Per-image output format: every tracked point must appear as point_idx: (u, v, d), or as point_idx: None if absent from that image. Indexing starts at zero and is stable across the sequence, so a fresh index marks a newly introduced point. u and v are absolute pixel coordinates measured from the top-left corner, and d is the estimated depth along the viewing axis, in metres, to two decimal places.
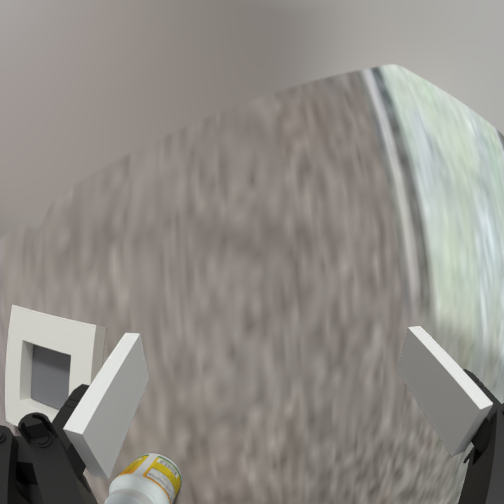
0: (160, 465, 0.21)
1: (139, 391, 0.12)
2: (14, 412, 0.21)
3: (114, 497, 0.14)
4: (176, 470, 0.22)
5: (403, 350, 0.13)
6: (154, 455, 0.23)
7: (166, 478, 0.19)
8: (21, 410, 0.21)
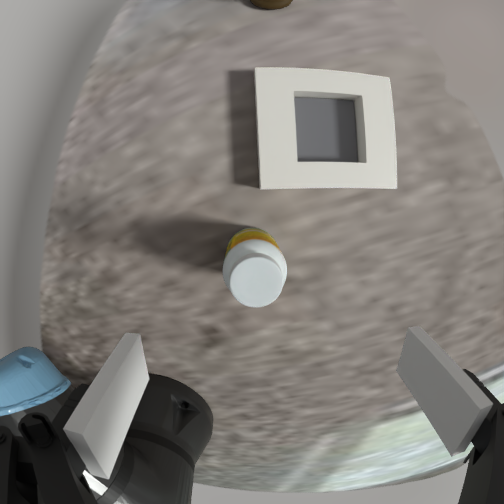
0: None
1: (139, 391, 0.12)
2: (273, 82, 0.25)
3: (275, 269, 0.22)
4: None
5: (403, 350, 0.13)
6: None
7: None
8: (281, 93, 0.25)
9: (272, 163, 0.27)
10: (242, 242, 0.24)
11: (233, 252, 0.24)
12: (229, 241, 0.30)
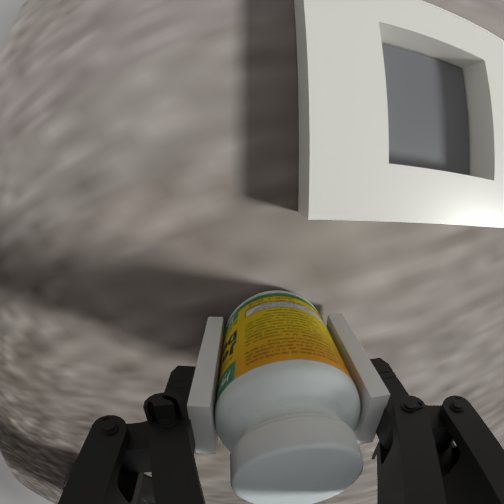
0: None
1: None
2: None
3: (352, 459, 0.06)
4: None
5: None
6: None
7: None
8: (356, 21, 0.10)
9: (337, 161, 0.11)
10: (265, 368, 0.09)
11: (242, 394, 0.09)
12: (231, 316, 0.15)
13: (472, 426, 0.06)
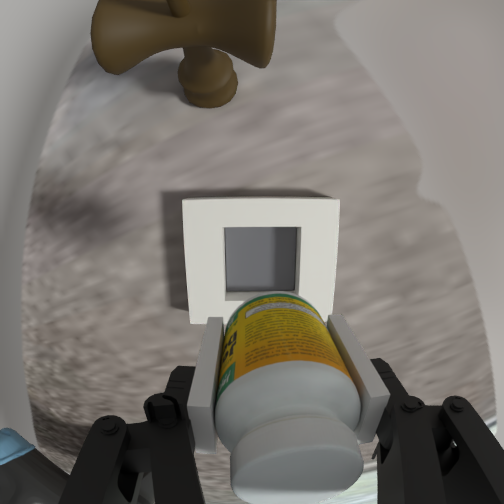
0: None
1: None
2: (201, 217, 0.26)
3: (352, 460, 0.06)
4: None
5: None
6: None
7: None
8: (209, 230, 0.26)
9: (200, 302, 0.28)
10: (266, 369, 0.09)
11: (242, 395, 0.08)
12: (231, 316, 0.15)
13: (472, 426, 0.06)
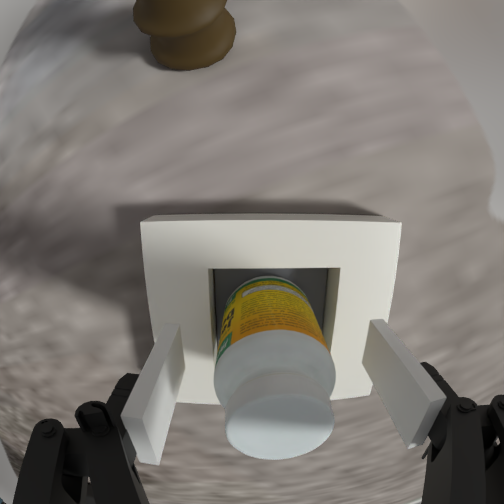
0: None
1: (179, 379, 0.13)
2: (171, 251, 0.15)
3: (323, 412, 0.09)
4: None
5: (366, 342, 0.14)
6: None
7: None
8: (186, 273, 0.16)
9: None
10: (256, 335, 0.11)
11: (236, 356, 0.11)
12: (230, 297, 0.17)
13: None
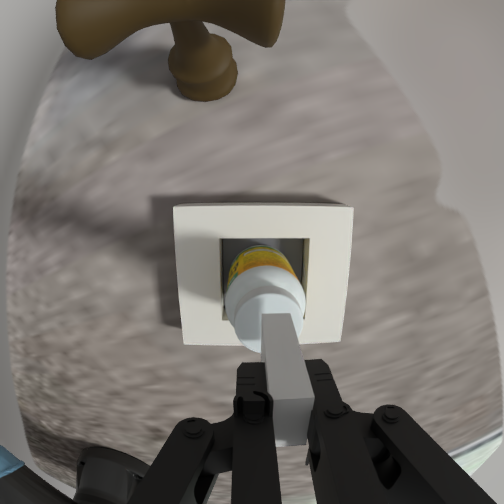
0: None
1: None
2: (194, 227, 0.23)
3: (295, 310, 0.17)
4: None
5: None
6: None
7: None
8: (204, 242, 0.23)
9: (194, 321, 0.25)
10: (254, 268, 0.19)
11: (241, 280, 0.19)
12: (234, 259, 0.25)
13: (412, 438, 0.07)
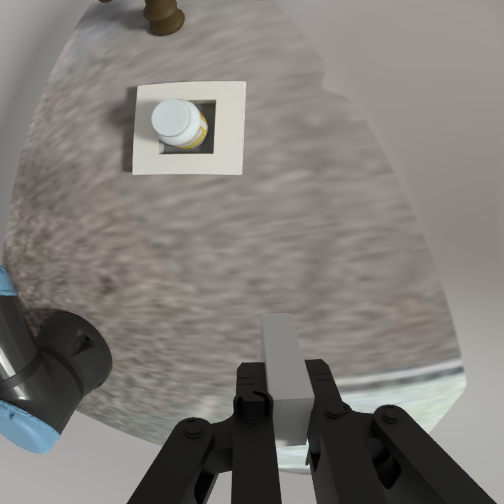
0: (202, 135, 0.34)
1: None
2: (148, 95, 0.33)
3: (184, 107, 0.27)
4: (196, 146, 0.35)
5: None
6: (207, 129, 0.35)
7: (194, 141, 0.32)
8: (152, 104, 0.33)
9: (141, 156, 0.35)
10: None
11: None
12: None
13: (412, 438, 0.07)
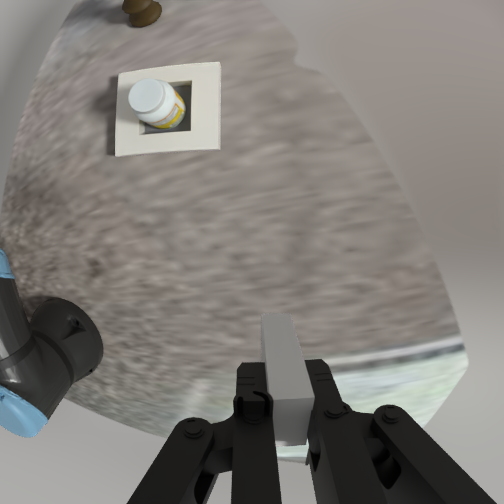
0: (179, 114, 0.34)
1: None
2: (128, 82, 0.33)
3: (158, 85, 0.27)
4: (174, 125, 0.36)
5: None
6: (185, 109, 0.35)
7: (171, 118, 0.32)
8: None
9: (122, 138, 0.35)
10: None
11: None
12: None
13: (412, 438, 0.07)
